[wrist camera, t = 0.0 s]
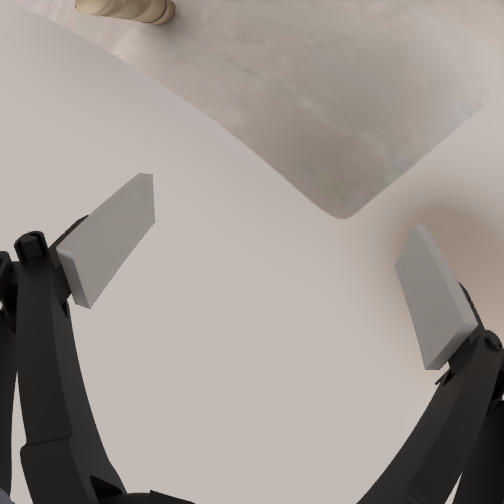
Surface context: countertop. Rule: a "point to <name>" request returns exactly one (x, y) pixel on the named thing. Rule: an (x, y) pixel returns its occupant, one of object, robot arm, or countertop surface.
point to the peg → (129, 9)
